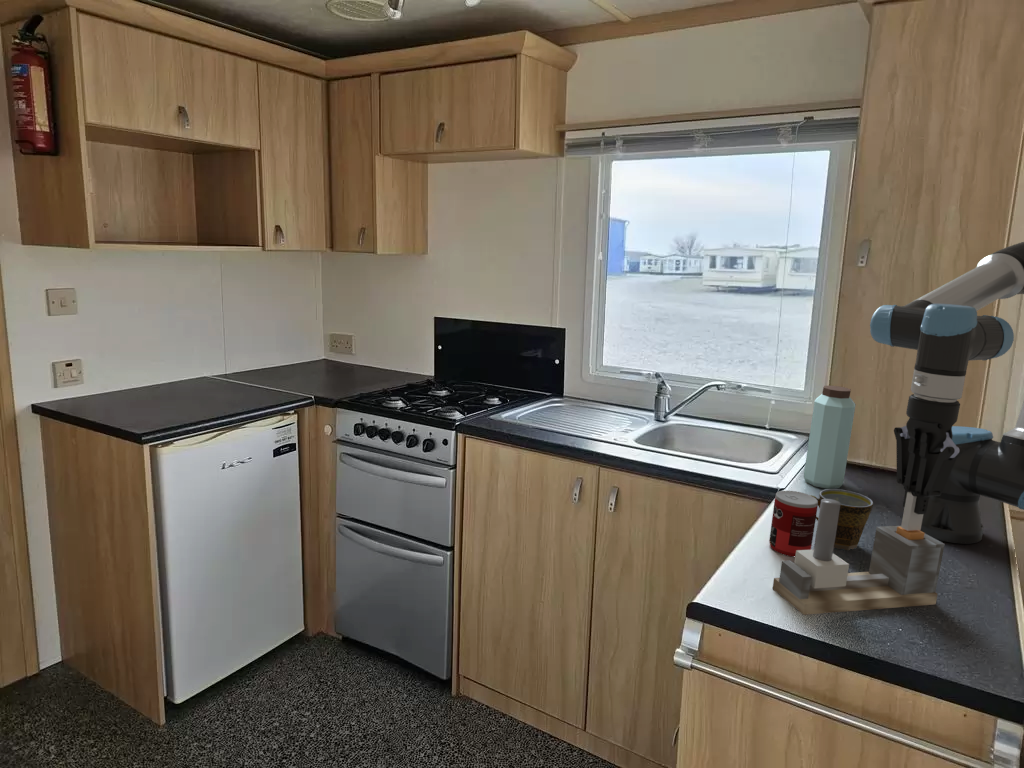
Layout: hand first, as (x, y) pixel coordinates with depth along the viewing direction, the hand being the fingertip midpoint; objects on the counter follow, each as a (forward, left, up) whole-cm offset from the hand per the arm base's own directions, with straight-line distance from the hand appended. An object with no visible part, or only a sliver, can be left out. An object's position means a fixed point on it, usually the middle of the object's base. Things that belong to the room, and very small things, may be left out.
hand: (910, 528), depth 126 cm
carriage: (+17, 0, -9) cm, 19 cm away
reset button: (0, 0, -3) cm, 3 cm away
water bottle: (-24, -54, -13) cm, 60 cm away
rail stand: (+9, 0, -12) cm, 15 cm away
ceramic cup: (-2, -21, -13) cm, 25 cm away
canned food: (+9, -19, -13) cm, 25 cm away
